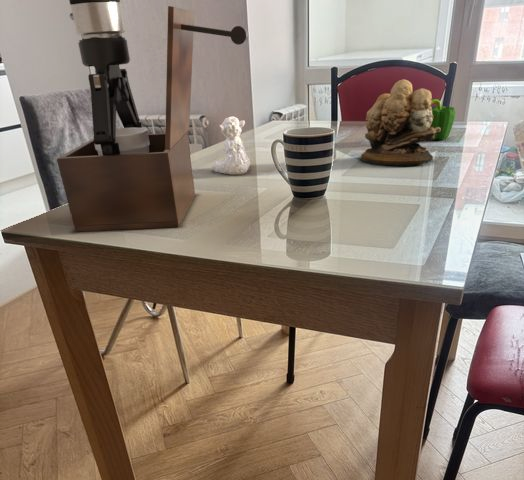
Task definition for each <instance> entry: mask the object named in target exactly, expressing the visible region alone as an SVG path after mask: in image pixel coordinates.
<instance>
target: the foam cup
mask: <svg viewBox="0 0 524 480" xmlns="http://www.w3.org/2000/svg"><path fill="white" fill-rule="evenodd" d="M148 134H149V131H148V128H146V127H142V128H134V127H132V128H124V127H120V128H116V142H115V143H118V144H119V150H120V154H135V153H149V145H150V143H149V136H148ZM92 139H93V140H94V133H92ZM95 149H96V150H97V152H98V155H103V154H102V149H101V144H100V145H95Z"/></svg>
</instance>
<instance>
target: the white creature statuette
mask: <svg viewBox="0 0 524 480" xmlns="http://www.w3.org/2000/svg"><path fill="white" fill-rule="evenodd" d="M245 124H246V121H245V120H244V119H243V120H242V119H241V120H239V118H238V117H236V116H233V115H232V116H228V117H225V118H224V120H223V122H222V123H221V124H219V125H218V126H219V128H220V130H221V134H222V135H223V136H224V138H226V139H225V142H224V146H223V152H224V159H217V160H215V161H214V162H213V163H212V165H211V168H212V170H213V171H214V172H215V173H220V174H226V175H231V176H234V175H243V174H245V173H247V172H248V170H249V168H250V166H251V160H250V158H249V157H248V155H247V153H246V146H245V144H244V141H242V139H241V137H240V136H241V133H242V131H243V130H242V128H243V127H244V126H245Z"/></svg>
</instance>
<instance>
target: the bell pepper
mask: <svg viewBox="0 0 524 480" xmlns="http://www.w3.org/2000/svg"><path fill="white" fill-rule="evenodd" d="M431 101H432V103H431V108H432V114H433V120H432V124H431V126H430V127H433V128H436V127H440V128H441V131H440V132H439V133H437V134H436V135H435V138H434V139H433V140H432V141H436V140H437V141H441V140H443V141H444V140H447V139H448V137H449V136H450V134H451V131H452V128H453V125H454V122H455V118H456V109H455V107H453V106H444V105H442V104H441V103H442V102H441V100H439V99H433V98H432V99H431ZM433 104H436V106H433Z"/></svg>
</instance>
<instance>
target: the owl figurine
mask: <svg viewBox="0 0 524 480" xmlns="http://www.w3.org/2000/svg"><path fill="white" fill-rule="evenodd" d="M431 100H433V97H432V92H431V91H430V90H429V89H426V88H421V87H420V88H419V89H416V90H414V91H413V84H412V82H411V81H409V80H407V79H404V78H402V79H400V80H399V79H398V81H396V82H395V83H394V85H393V86H392V88H391V89H390V93H382V94H380V95H379V96H378V97H377V99H376V101H375V103H374V104H373V106H372V107H371V108H370V109H369V110H367V112H366V115H365V116H366V117H365V128H366V131H367V132H366V133H365V134H364V138H365V139H366V140H367V141H369V145H370V148H367V149H366V150H365V151H364V152H363V153H361V156H360V160H361V161H362V162H364V163H367V164H373V165H381V166H390V167H391V166H393V167H396V166H397V167H408V166H413V167H414V166H420V165H423V164H428V163H429V162H431V161H432V160H434V159H433V158H434V156H433V155H432V154H431V153H430V151H429V150H427V147H424V146H422V145H421V144H420V143H421V142H427V141H434V140H433V139H434V138H435V135H436V134H437V133H439V132H440V131H441V128H440V127H436V128H433V127H430V126H431V124H432V120H433V114H432V108H431V107H432V104H431V103H432V101H431Z"/></svg>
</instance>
